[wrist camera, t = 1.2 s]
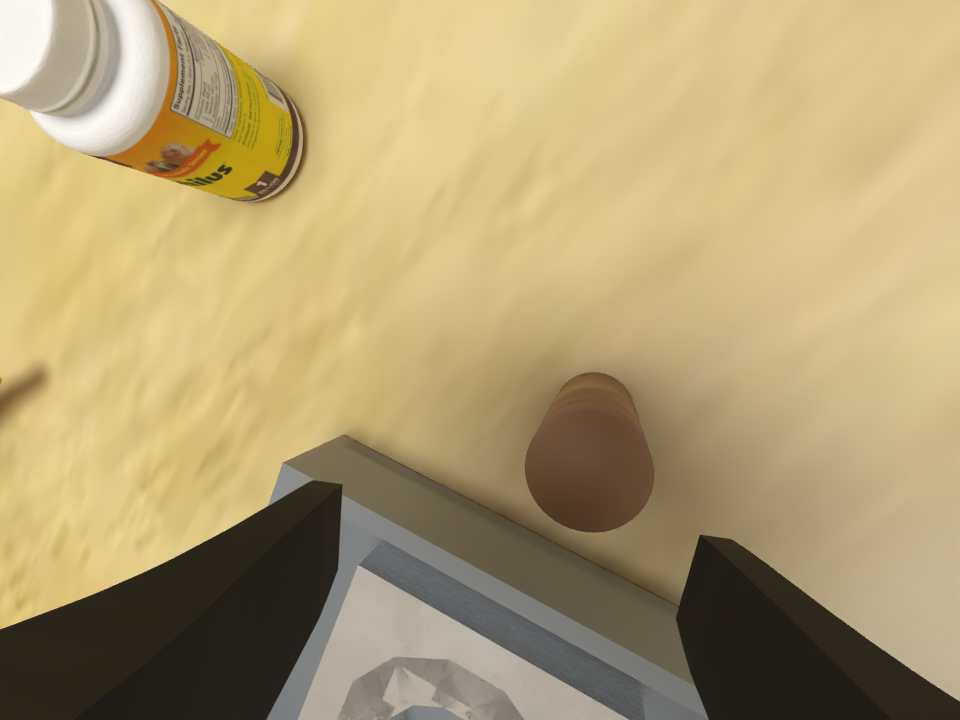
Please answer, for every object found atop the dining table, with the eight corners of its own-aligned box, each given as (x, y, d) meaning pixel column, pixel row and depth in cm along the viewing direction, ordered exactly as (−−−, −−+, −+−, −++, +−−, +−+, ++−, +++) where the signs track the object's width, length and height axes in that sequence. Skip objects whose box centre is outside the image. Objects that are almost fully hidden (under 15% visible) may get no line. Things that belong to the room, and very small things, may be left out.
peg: (647, 392, 19) (676, 443, 12) (614, 462, 20) (620, 554, 12) (573, 360, 20) (554, 388, 12) (542, 428, 21) (506, 496, 13)
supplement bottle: (204, 199, 24) (-80, 117, 14) (213, 79, 23) (-79, -97, 13) (303, 212, 23) (68, 132, 13) (316, 86, 22) (79, -103, 12)
